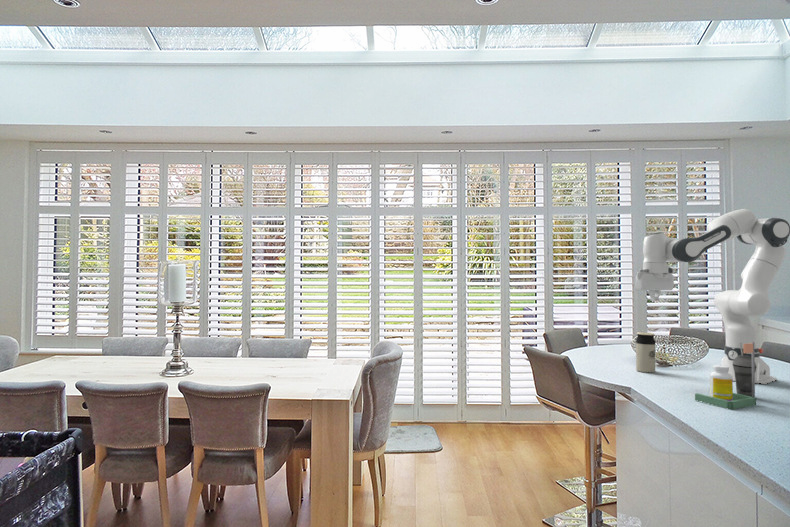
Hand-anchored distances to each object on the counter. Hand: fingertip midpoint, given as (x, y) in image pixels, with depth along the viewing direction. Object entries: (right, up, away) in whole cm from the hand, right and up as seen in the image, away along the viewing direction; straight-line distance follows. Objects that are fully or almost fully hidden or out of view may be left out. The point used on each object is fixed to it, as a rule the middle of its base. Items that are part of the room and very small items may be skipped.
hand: (654, 300), depth 203 cm
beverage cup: (+18, -34, -29) cm, 48 cm away
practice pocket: (+4, -33, -37) cm, 50 cm away
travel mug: (+5, -35, +16) cm, 38 cm away
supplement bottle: (+3, -34, -37) cm, 50 cm away
